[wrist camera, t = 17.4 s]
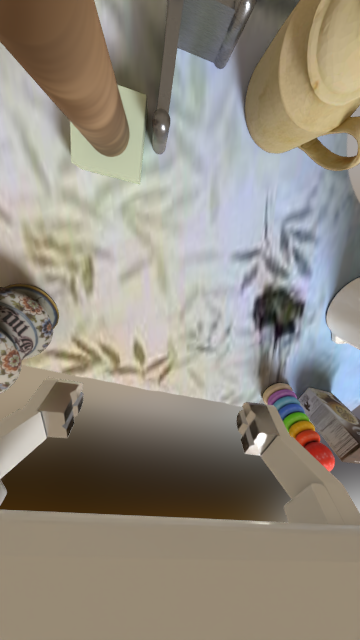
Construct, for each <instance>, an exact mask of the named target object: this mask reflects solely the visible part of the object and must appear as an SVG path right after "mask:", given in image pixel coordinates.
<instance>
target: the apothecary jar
mask: <svg viewBox="0 0 360 640" xmlns="http://www.w3.org/2000/svg"><path fill="white" fill-rule="evenodd" d="M58 319H59V313H58V309H57V306H56V304H55V303H54V301H53V300H52V299H51V297H50V296H48V295H47V294H46V293H45V292H43V291H42V290H40V289H38V288H36V287H34V286H30V285H26V284H13V285H9V286H7V287H5V288H3V287H0V394H1V393H3V392H4V391H6V390H7V389H8V388H10V387H11V386H12V385H13V384H14V383H15V381H16V380H17V378H18V376H19V374H20V371H21V361H22V360H23V359H27V358H31V357H34V356H36V355H38V354H39V353H41V352H42V351H43V350H44V349H45V348H46V347H47V346H48V345H49V343H50V341H51V339H52V335H53V328H54V327H55V326H56V325H57V323H58Z"/></svg>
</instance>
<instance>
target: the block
mask: <svg viewBox="0 0 360 640" xmlns="http://www.w3.org/2000/svg"><path fill="white" fill-rule="evenodd" d="M118 89H119V92H120V96H121V100H122V103H123V107H124V110H125V114H126V118H127V121H128V125H129V132H130V136H129V142H128V145H127V147H126V149H125V150H124V152H123V153H121V154H120V155H118V156H115V157H107V156H104V155H102V154H100V153H99V152H98V151H96V150H95V149H94V147H93V146H92V145H91V144H90V143H89V142H88V141H87V139H86V138H85V137H84V136H83V135H82V134H81V133H80V132H79V130H78V129H77V128H76V127H75V126H74V125H73V124H72V122H71V121H70V140H71V162H72V163H73V164H75V165H76V166H77V167H79V168H80V169H82V170H86V171H90V172H94V173H98V174H101V175H105V176H109V177H113V178H117V179H121V180H124V181H128V182H132V183H136V184H140V180H141V170H142V160H143V150H144V140H145V130H146V120H147V95H145V94H142V93H140V92H137V91H134V90H131V89H128V88H125V87H123V86H120V85H118Z"/></svg>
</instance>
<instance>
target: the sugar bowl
mask: <svg viewBox="0 0 360 640" xmlns="http://www.w3.org/2000/svg"><path fill="white" fill-rule="evenodd" d="M359 105H360V0H300V1H299V2H298V4H297V5H296V7H295V8H294V9H293V11H292V12H291V14H290V15H289V17H288V18H287V19H286V21H285V22H284V24H283V25H282V27H281V28H280V30H279V31H278V33H277V34H276V36H275V37H274V39H273V40H272V42H271V44H270V45H269V47H268V48H267V50H266V52H265V53H264V55H263V56H262V58H261V60H260V61H259V63H258V64H257V66H256V68H255V70H254V72H253V74H252V76H251V79H250V82H249V85H248V89H247V94H246V101H245V116H246V122H247V126H248V130H249V132H250V135H251V137H252V139H253V140H254V142H255V143H256V144H257V145H258V146H259V147H260V148H261V149H263V150H265V151H266V152H269V153H283V152H286V151H289V150H291V149H293V148H295V147H298V148H300V149H301V150H303V151H304V152H305V153H306V154H307V155H308V156H309V157H310V158H311V159H312V160H313V161H314V162H315V163H317V164H318V165H320V166H322V167H324V168H325V169H328V170H333V171H341V170H347V169H350V168H352V167H355V166H356V165H358V164H359V163H360V117H350V116H351V115H352V114H353V113H354V112H355V111H356V109H357V108H358V107H359ZM334 133H348V134H350V135H352V136H353V137H354V138H355V139H356V140H357V142H358V153H357V156H354V157H342V156H339V155H336V154H334V153H332V152H331V151H330V150H328V149H327V148H326V147H325V146H323V145H322V144H321V142H320V141H319V140H318V139H317V137H319V136H322V135H327V134H334Z"/></svg>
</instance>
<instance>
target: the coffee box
mask: <svg viewBox="0 0 360 640" xmlns="http://www.w3.org/2000/svg"><path fill="white" fill-rule="evenodd" d="M298 401H299V402H300V406H301V407H302V408H303V409H304V411H305V414H306V415H307V416H308V418H309V419H310V421H311V422H312V423H313V425H314V426H315V427H316V428H317V430H318V431H319V432H320V434H321V435H322V436H323V438H324V439H325V440H326V441H327V443H328V444H329V445H330V447H331V448H332V449H333V451H334V452H335V453H336V454H337V456H338V457H339V458H340V460H341V461H342V462H349V463H357V464H360V420H359V419H358V418H357V417H356V416H355V415H354V414H353V413H352V412H351V411H350V410H349V409H348V408H347V407H346V406H345V405H344V404H343V403H341V402H340V401H339V400H338V399H337V398H336V397H335V396H334V395H333V394H332V393H330V392H326V391H322V390H318V389H314V388H310V387H308V389H307V390H306V391H305V392H304V393H303V394H302V395H301V397H300V398H299V399H298Z"/></svg>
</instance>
